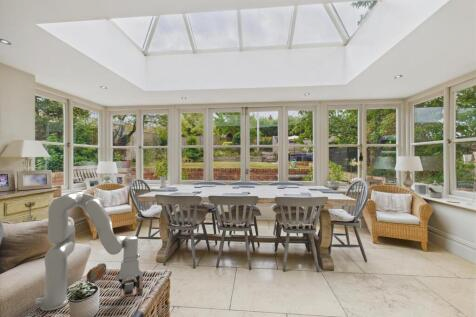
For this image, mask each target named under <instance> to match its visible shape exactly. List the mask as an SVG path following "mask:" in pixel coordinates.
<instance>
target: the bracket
mask: <svg viewBox="0 0 476 317" xmlns="http://www.w3.org/2000/svg"><path fill="white" fill-rule="evenodd" d="M129 292H133V282H132V283H126V284H125V293H129Z"/></svg>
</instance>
